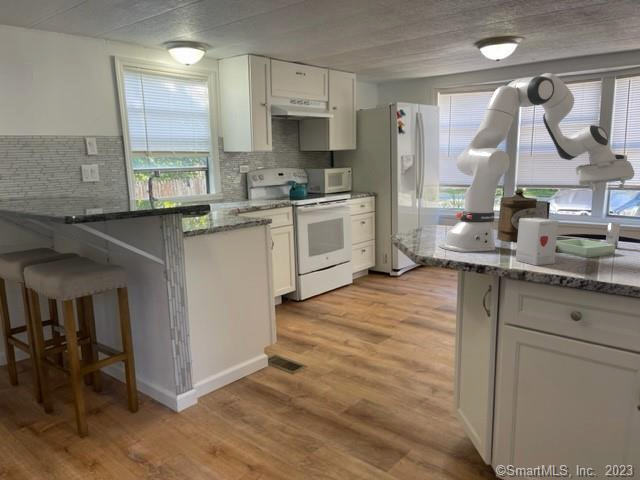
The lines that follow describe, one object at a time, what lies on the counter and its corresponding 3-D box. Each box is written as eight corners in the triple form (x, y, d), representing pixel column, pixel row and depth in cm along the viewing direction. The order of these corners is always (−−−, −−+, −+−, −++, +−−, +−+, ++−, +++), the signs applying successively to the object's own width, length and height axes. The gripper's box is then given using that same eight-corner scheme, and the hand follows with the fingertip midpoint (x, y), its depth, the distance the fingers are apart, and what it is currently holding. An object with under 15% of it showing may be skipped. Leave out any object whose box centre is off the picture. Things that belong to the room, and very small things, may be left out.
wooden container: (518, 243, 196) (522, 191, 192) (490, 238, 209) (493, 188, 205) (541, 240, 203) (545, 190, 199) (512, 235, 216) (516, 188, 212)
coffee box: (547, 238, 210) (550, 202, 207) (532, 237, 211) (535, 202, 208) (542, 235, 218) (545, 200, 215) (527, 234, 220) (530, 200, 217)
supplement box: (535, 266, 156) (539, 221, 153) (514, 260, 164) (518, 218, 161) (555, 263, 159) (559, 220, 157) (533, 258, 167) (537, 216, 165)
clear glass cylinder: (612, 249, 185) (615, 224, 183) (602, 247, 189) (605, 222, 187) (619, 248, 187) (622, 223, 185) (609, 246, 190) (612, 222, 189)
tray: (586, 257, 169) (587, 248, 168) (550, 250, 182) (550, 241, 182) (614, 254, 176) (615, 244, 175) (577, 247, 189) (578, 238, 188)
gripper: (575, 162, 200) (581, 189, 194) (631, 154, 194) (638, 182, 188) (574, 170, 206) (579, 197, 200) (627, 163, 199) (635, 190, 193)
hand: (608, 190), depth 194 cm, fingers open, 8 cm apart
